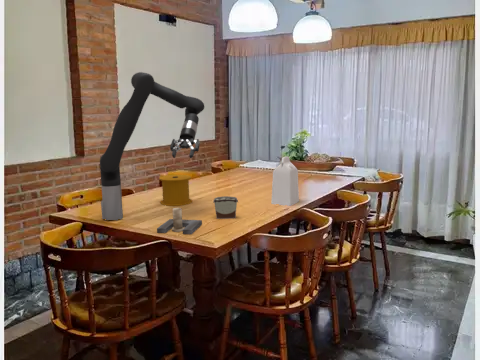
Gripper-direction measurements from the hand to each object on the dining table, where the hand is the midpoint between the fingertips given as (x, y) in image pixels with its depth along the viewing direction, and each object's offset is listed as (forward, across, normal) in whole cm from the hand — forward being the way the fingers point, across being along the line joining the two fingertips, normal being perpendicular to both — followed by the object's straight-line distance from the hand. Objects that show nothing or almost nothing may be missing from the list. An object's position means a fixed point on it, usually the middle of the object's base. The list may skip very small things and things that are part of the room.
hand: (182, 157), depth 216 cm
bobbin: (+36, +4, +7) cm, 37 cm away
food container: (+18, +20, +26) cm, 37 cm away
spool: (-1, -16, +45) cm, 47 cm away
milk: (-7, +46, +50) cm, 69 cm away
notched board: (+34, +4, +9) cm, 36 cm away
